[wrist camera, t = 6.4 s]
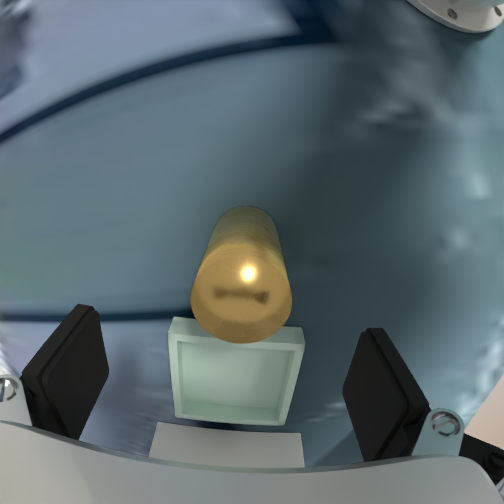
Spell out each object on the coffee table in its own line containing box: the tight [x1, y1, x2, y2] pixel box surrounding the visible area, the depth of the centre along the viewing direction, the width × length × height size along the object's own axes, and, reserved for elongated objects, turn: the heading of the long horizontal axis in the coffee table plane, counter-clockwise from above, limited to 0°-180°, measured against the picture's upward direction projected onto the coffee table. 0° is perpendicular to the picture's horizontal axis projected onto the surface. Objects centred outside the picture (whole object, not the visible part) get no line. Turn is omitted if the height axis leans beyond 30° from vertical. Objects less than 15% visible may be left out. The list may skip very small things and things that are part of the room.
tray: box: [168, 317, 305, 426], centre depth 23 cm, size 9×9×2 cm
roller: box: [191, 206, 292, 344], centre depth 16 cm, size 4×4×8 cm
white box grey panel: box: [149, 422, 305, 468], centre depth 23 cm, size 7×14×11 cm, turn 85°
